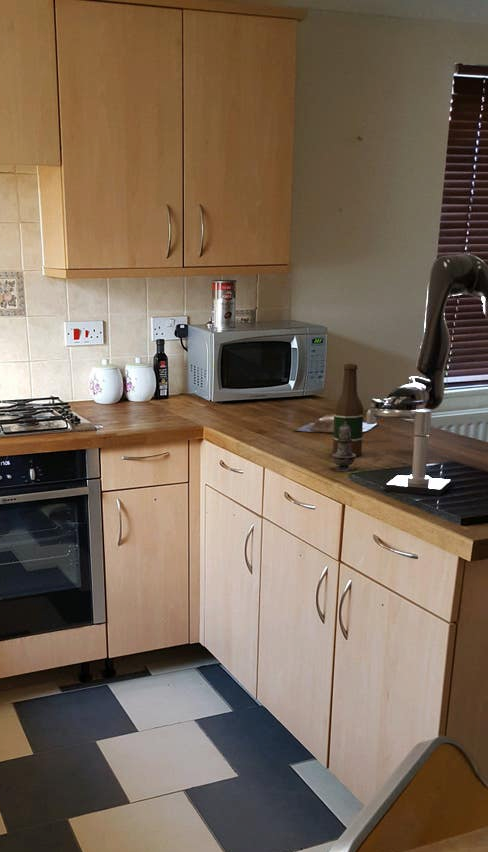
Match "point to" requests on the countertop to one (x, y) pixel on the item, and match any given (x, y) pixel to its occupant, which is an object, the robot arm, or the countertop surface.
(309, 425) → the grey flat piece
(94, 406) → the countertop surface
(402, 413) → the spout
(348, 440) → the grey figurine
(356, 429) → the beer bottle
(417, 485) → the faucet base
